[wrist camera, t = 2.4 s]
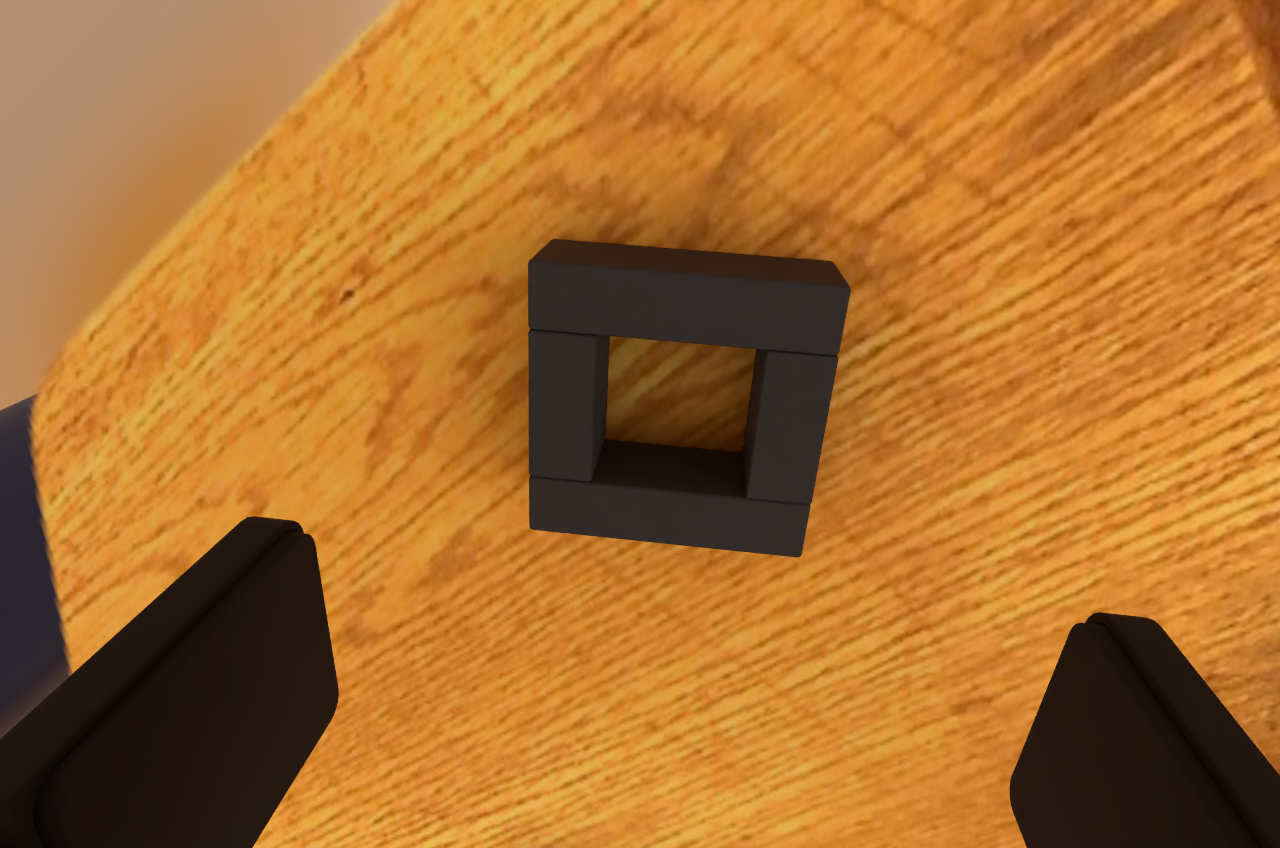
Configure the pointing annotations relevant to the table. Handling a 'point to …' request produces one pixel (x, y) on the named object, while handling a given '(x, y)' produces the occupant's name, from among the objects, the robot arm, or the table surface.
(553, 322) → the black square frame
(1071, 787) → the robot arm
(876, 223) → the table surface
